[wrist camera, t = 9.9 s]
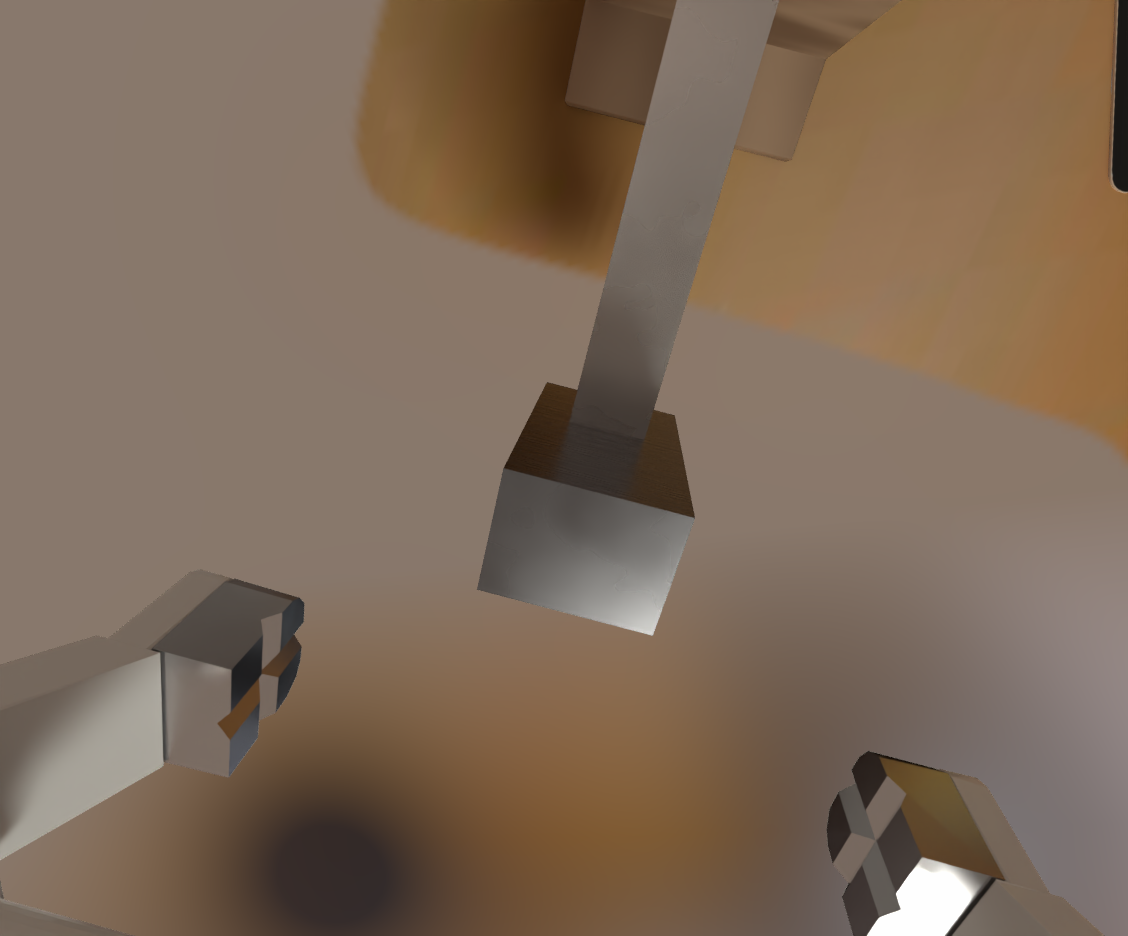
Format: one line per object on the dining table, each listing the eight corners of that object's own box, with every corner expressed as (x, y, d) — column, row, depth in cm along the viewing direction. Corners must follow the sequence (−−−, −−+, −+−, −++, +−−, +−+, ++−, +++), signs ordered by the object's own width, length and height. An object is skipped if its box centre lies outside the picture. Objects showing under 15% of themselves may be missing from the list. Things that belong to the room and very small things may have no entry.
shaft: (813, -15, 15) (945, -180, 9) (647, 501, 21) (652, 635, 14) (649, -57, 15) (660, -253, 9) (526, 470, 21) (477, 589, 14)
